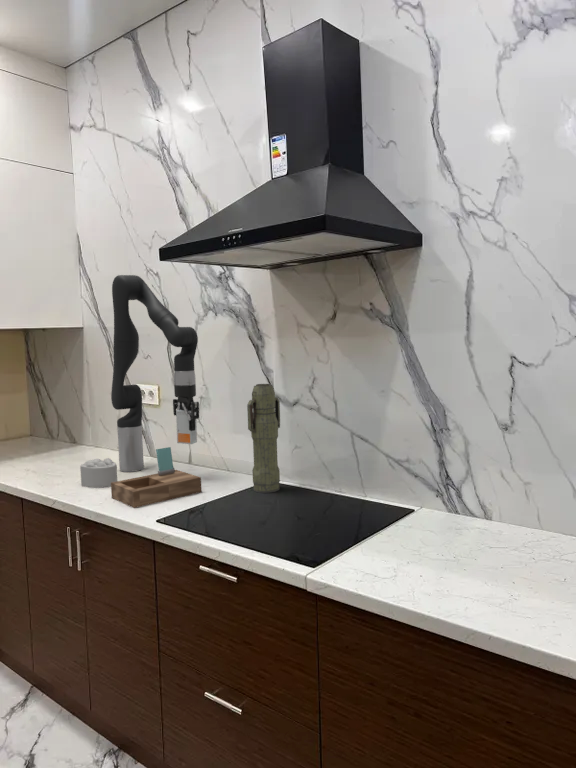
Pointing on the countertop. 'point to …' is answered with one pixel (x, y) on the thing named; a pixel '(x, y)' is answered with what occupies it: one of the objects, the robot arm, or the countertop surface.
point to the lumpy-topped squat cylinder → (98, 473)
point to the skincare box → (185, 429)
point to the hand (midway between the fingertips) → (186, 429)
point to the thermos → (264, 437)
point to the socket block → (155, 488)
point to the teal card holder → (165, 461)
